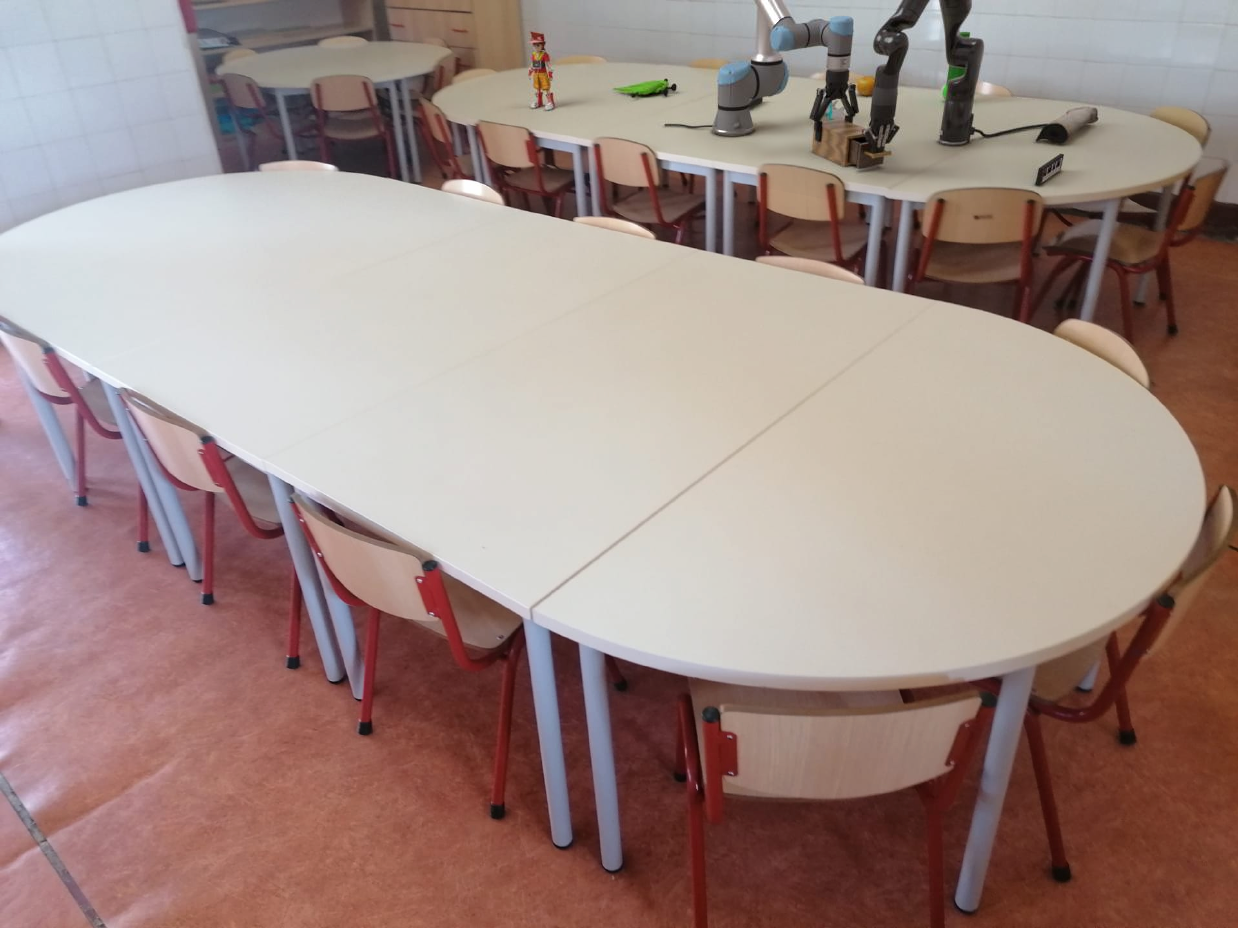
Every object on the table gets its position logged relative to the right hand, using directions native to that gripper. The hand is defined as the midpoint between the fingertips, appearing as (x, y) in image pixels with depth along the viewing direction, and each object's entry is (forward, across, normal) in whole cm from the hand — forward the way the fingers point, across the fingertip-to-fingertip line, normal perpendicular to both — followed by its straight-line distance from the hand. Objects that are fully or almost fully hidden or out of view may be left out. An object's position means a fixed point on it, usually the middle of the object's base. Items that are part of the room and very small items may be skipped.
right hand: (877, 158), depth 286 cm
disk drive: (+6, +5, +100) cm, 101 cm away
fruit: (+6, +56, +88) cm, 104 cm away
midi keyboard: (+4, +40, -32) cm, 51 cm away
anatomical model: (+5, +24, +64) cm, 68 cm away
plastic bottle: (+5, +77, +59) cm, 97 cm away
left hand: (0, 0, +26) cm, 26 cm away
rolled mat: (+5, +80, +2) cm, 80 cm away
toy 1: (+6, -67, +145) cm, 160 cm away
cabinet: (+5, 0, +20) cm, 21 cm away
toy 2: (+6, -21, +147) cm, 149 cm away
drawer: (+4, 0, +10) cm, 10 cm away
